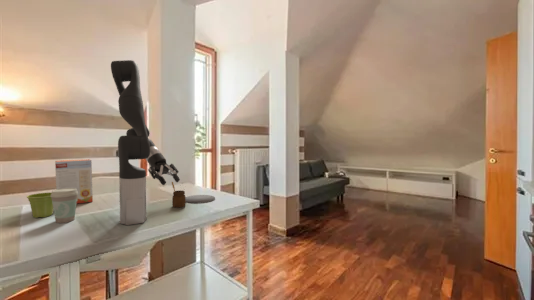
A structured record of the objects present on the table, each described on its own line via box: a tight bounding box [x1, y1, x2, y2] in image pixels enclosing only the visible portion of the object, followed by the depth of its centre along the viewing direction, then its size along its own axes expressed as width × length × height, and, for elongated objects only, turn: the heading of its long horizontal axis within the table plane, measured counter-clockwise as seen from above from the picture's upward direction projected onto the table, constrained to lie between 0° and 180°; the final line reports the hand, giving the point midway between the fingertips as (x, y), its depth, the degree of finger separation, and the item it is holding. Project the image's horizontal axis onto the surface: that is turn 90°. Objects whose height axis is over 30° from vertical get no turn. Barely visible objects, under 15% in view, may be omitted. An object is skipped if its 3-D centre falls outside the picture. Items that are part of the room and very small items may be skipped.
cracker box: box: [54, 158, 94, 205], centre depth 128 cm, size 14×6×21 cm, turn 130°
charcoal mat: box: [185, 194, 216, 204], centre depth 140 cm, size 16×16×1 cm
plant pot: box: [26, 192, 54, 218], centre depth 108 cm, size 9×9×9 cm
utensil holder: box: [171, 181, 187, 208], centre depth 126 cm, size 6×6×12 cm
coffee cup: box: [50, 188, 78, 224], centre depth 103 cm, size 8×9×12 cm
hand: (171, 182), depth 127 cm, fingers open, 8 cm apart
